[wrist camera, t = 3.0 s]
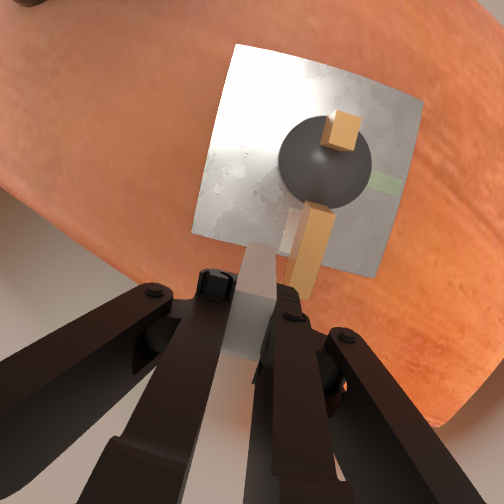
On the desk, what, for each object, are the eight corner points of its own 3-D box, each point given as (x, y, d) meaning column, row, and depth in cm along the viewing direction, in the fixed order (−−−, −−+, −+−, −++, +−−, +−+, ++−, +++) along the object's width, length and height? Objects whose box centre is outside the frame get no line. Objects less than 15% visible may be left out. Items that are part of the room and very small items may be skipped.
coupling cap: (289, 110, 26) (295, 95, 19) (368, 134, 26) (399, 129, 19) (252, 254, 30) (246, 285, 23) (328, 272, 31) (344, 308, 23)
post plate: (237, 47, 30) (230, 28, 24) (419, 102, 30) (443, 95, 25) (193, 230, 37) (179, 244, 31) (371, 275, 37) (386, 295, 31)
